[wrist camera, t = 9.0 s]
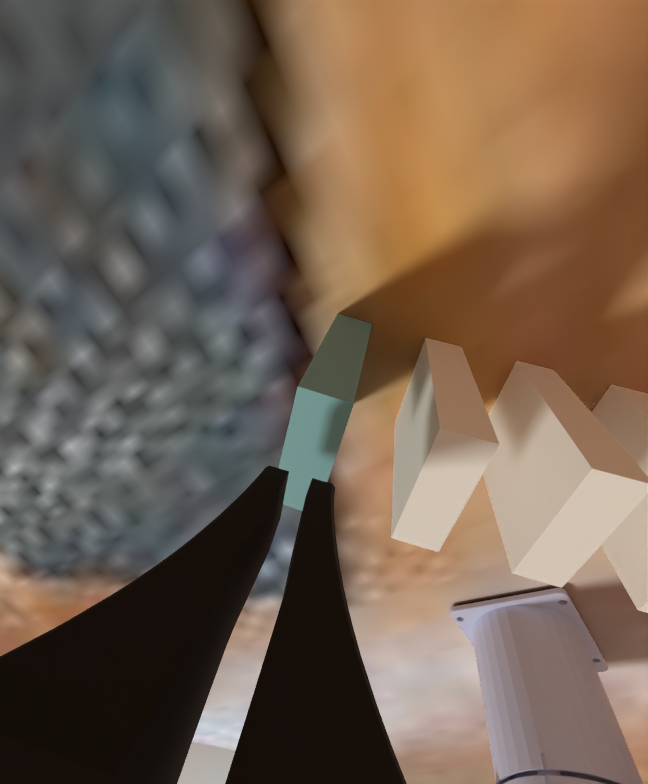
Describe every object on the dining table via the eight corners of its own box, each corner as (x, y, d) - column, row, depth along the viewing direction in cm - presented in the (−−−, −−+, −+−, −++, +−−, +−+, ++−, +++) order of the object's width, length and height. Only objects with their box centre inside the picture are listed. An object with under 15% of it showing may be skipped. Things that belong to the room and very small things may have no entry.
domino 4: (649, 393, 17) (820, 529, 10) (588, 474, 20) (689, 625, 13) (611, 384, 17) (752, 511, 10) (555, 465, 20) (637, 610, 13)
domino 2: (461, 346, 18) (499, 444, 11) (426, 430, 20) (438, 551, 13) (425, 337, 18) (439, 428, 11) (395, 421, 20) (391, 538, 13)
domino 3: (553, 369, 17) (655, 485, 10) (506, 451, 20) (561, 587, 13) (516, 360, 17) (592, 468, 10) (473, 443, 20) (511, 573, 13)
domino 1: (372, 323, 18) (353, 403, 11) (344, 407, 20) (315, 515, 14) (337, 313, 18) (298, 386, 11) (314, 398, 21) (270, 500, 14)
